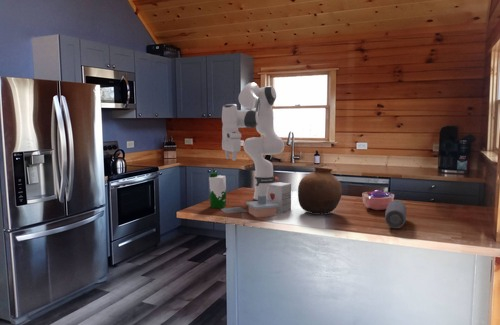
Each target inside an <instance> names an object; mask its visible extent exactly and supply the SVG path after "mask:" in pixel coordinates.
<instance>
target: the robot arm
mask: <svg viewBox="0 0 500 325" xmlns="http://www.w3.org/2000/svg"><path fill="white" fill-rule="evenodd" d="M276 98H277V92H276V90H275V88H274V87H273V86H272V85H268V86H267V85H266V86H262V87H260V86H259V85H258V84H257V83H256V82H248V83H247V84H245V86H244V87H243V88H242V89H241V91H240V93H239V94H238V102H239V104H240V105H241V106H242V107H243V108H245V109H241V110H239V109H238V105H237V104H236V103H228V104H224V105H222V111H221V123H222V128H221V130H222V132H221V134H222V139H221V148H222V150H223V151H224V153H225V158H226V159H227V160H228V159H231V160H232V161H237V155H238V153H241V150H242V147H241V146H242V142H241V140H242V139H241V138H242V133H241V132H240V131H239V129H240V128H249V129H254V128H255V130H256V131H257V133H258V134H259V135H261V136H259V137H257V136H256V137H255V136H252V137H248V138H246V139H245V140H244V142H243V150H244V152H245V153H246V155H248V156H249V157H250V158H251V159H252V161H253V163H254V170H255V176H254V194H253V198H252V199H254V200H255V201H258V196H259V195H265V196H266V200H269V184H272V183H277V182H276V181H279V177H278V176H274V165H273V163H272V162H271V161H270V160H267V159H265V158H264V156H265V155H266V156H267V155H270V156H271V155H274V156H275V155H279V154H282V153H283V152H284V150H285V142H284V140H283V138H282V137H280V136H279V135H277V134H276V131H275V126H274V111H273V107H272V106H273V105H274V102H275V101H276ZM230 153H232V156H231V155H230Z"/></svg>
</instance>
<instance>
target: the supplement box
mask: <svg viewBox="0 0 500 325" xmlns="http://www.w3.org/2000/svg"><path fill="white" fill-rule="evenodd" d="M269 200H270V201H272V202H274V203H276V204H278V205H279V207H276V213H281V214H282V213H283V214H284V213H286V212H289V211H291V210H292V183H288V182H280V181H279V182H278V181H277V182H276V183H272V184H269Z"/></svg>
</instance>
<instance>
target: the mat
mask: <svg viewBox="0 0 500 325" xmlns="http://www.w3.org/2000/svg"><path fill="white" fill-rule="evenodd" d="M219 209H220V210H221V211H222V212H223V213H225V214H236V213H237V214H238V213H245V212H246V213H247V211H248V210H246V209H244V208H243V207H242V206H234V207H223V208H219Z"/></svg>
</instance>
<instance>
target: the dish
mask: <svg viewBox="0 0 500 325" xmlns="http://www.w3.org/2000/svg"><path fill="white" fill-rule="evenodd" d="M248 213H249V214H250V215H251V216H253V217H255V218H256V219H260V218H263V217H264V218H268V217H272V216H273V217H277V211H276V207H273V208H263V209H254V208H252V207H250V206H249V205H248Z"/></svg>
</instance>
